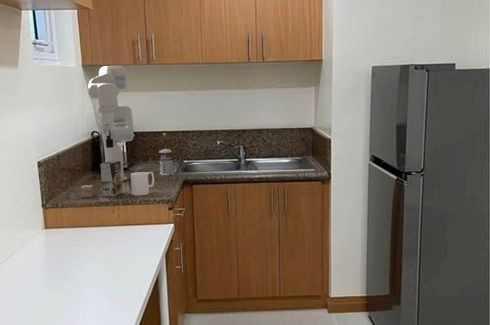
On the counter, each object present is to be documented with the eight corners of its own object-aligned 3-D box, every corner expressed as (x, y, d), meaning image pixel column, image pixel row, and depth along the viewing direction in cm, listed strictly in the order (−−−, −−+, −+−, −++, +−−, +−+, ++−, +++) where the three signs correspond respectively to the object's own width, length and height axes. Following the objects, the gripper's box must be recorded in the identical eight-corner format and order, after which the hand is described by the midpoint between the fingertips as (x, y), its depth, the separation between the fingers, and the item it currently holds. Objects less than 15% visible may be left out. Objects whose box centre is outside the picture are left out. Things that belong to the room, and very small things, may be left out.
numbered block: (83, 195, 231) (82, 185, 230) (93, 195, 232) (92, 184, 231) (81, 197, 226) (80, 187, 225) (92, 197, 227) (91, 186, 226)
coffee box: (114, 196, 225) (112, 163, 223) (102, 196, 227) (99, 163, 224) (123, 192, 234) (120, 160, 232) (111, 192, 236) (108, 160, 233)
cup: (158, 192, 233) (157, 172, 231) (136, 196, 225) (135, 175, 224) (151, 190, 239) (149, 170, 237) (129, 193, 231) (127, 173, 230)
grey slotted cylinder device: (177, 172, 292) (174, 132, 289) (170, 175, 281) (168, 133, 277) (161, 172, 294) (159, 132, 290) (155, 175, 283) (152, 134, 279)
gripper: (101, 109, 233) (103, 145, 236) (96, 110, 219) (99, 149, 222) (116, 108, 234) (119, 145, 238) (113, 110, 220) (116, 149, 223)
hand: (109, 147), depth 230 cm, fingers closed
